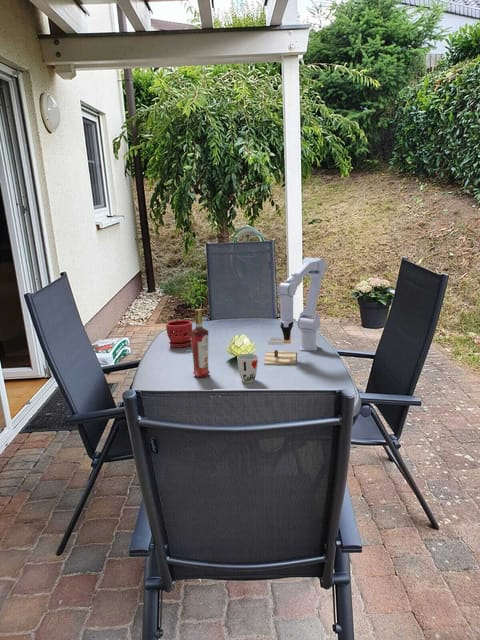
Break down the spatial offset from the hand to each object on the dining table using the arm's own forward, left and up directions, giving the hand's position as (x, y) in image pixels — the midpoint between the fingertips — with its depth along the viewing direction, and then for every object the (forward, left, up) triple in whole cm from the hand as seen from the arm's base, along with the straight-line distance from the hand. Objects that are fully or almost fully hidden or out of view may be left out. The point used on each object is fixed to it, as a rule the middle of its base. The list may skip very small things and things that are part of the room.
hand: (287, 338), depth 215 cm
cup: (+29, -15, -10) cm, 34 cm away
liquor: (+24, -35, -10) cm, 43 cm away
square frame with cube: (0, -3, -2) cm, 4 cm away
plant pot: (-21, -55, -10) cm, 60 cm away
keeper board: (0, -3, -9) cm, 10 cm away
